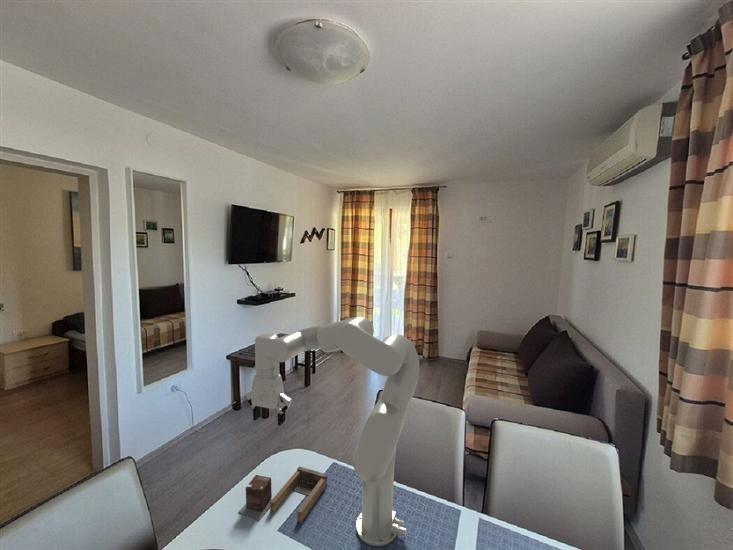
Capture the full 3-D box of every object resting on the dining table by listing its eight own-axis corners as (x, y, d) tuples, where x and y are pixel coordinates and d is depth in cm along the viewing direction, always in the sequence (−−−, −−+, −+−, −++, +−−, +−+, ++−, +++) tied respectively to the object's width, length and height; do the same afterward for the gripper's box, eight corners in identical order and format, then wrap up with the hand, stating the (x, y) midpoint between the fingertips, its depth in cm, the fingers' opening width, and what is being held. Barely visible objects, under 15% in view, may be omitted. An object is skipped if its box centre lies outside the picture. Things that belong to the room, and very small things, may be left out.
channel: (327, 484, 112) (327, 474, 112) (301, 523, 96) (301, 511, 96) (299, 476, 116) (299, 466, 116) (270, 511, 100) (270, 500, 100)
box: (272, 497, 105) (272, 477, 105) (262, 512, 99) (262, 490, 99) (256, 494, 107) (255, 474, 106) (245, 508, 101) (245, 487, 100)
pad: (275, 501, 104) (275, 500, 104) (259, 520, 97) (259, 519, 97) (255, 494, 107) (255, 493, 107) (238, 512, 100) (238, 511, 100)
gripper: (238, 372, 103) (240, 422, 104) (283, 378, 97) (285, 431, 98) (253, 364, 110) (254, 411, 111) (296, 370, 104) (297, 419, 105)
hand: (269, 421), depth 105 cm, fingers open, 9 cm apart
